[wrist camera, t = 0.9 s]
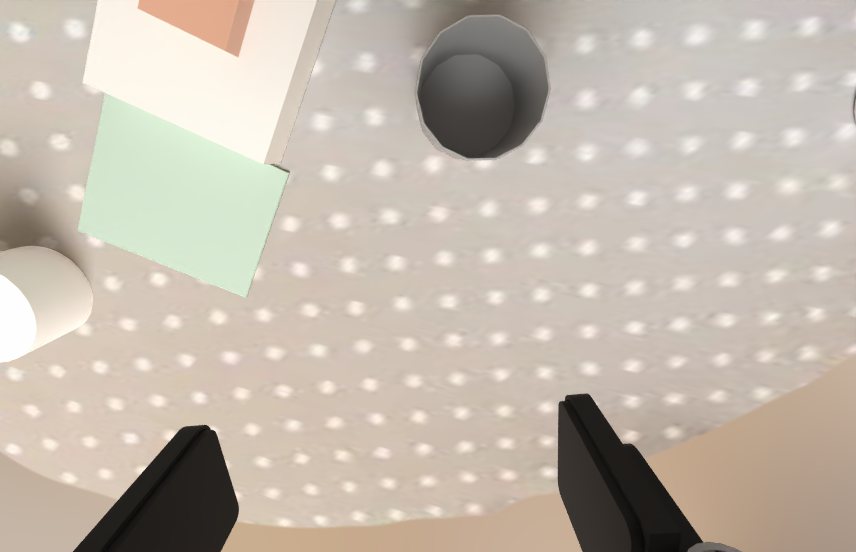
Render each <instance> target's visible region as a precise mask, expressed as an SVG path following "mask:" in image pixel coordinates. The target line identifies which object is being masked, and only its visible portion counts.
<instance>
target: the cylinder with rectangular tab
mask: <svg viewBox="0 0 856 552" xmlns="http://www.w3.org/2000/svg"><path fill="white" fill-rule="evenodd" d="M92 306H93V295H92V290H91V287H90V284H89V282H88V280H87V278H86V277H85V275H84V274H83V272H82V271H81V269H80V268H79V267H78V266H77V265H76V264H75V263H73V262H72V261H71V260H70V259H69V258H67V257H66V256H64V255H62V254H61V253H59V252H57V251H54V250H52V249H49V248H46V247H40V246H33V245H32V246H23V247H17V248H13V249H9V250H5V251H0V362H7V361H11V360H13V359H16V358H19V357H21V356H23V355H25V354H27V353H29V352H31V351H33V350H35V349H37V348H39V347H41V346H43V345H45V344H47V343H49V342H51V341H53V340H55V339H56V338H58V337H60V336H62V335H64V334H66V333H68V332H70V331H72V330H74V329H76V328H78V327H79V326H81V325H82V324H83V323H84V322H86V320H87V319H88V317H89V315H90V314H91V311H92Z"/></svg>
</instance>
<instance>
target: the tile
mask: <svg viewBox="0 0 856 552" xmlns="http://www.w3.org/2000/svg"><path fill="white" fill-rule="evenodd" d="M254 1H255V0H139V4H138V9H140V10H142V11H144V12H146V13H148V14H150V15H152V16H154V17H156V18H158V19H160V20H162V21H164V22H166V23H168V24H170V25H172V26H174V27H176V28H178V29H180V30H182V31H184V32H186V33H188V34H191V35H193V36H195V37H197V38H199V39H201V40H203V41H205V42H207V43H209V44H211V45H213V46H215V47H217V48H219V49H221V50H224V51H226V52H228V53H230V54H232V55H234V56H236V57H239V53H240V50H241V46H242V43H243V39H244V36H245V32H246V29H247V25H248V22H249V18H250V15H251V11H252V8H253V4H254Z"/></svg>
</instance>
